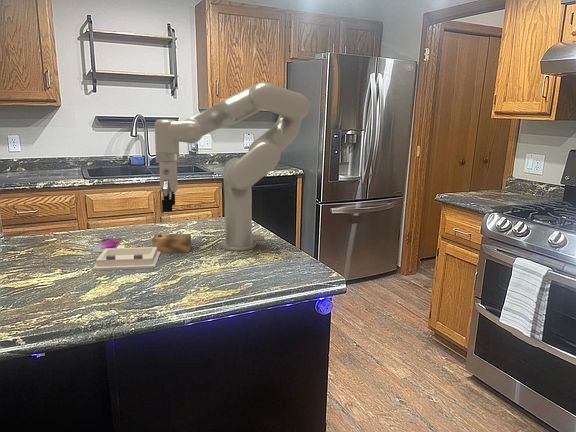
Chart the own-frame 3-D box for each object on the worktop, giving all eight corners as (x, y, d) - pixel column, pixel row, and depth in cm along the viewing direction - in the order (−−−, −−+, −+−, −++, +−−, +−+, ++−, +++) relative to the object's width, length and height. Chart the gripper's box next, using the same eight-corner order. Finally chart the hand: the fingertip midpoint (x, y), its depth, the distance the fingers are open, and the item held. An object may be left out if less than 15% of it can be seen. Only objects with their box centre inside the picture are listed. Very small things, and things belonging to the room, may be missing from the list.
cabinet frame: (160, 253, 145) (160, 242, 144) (154, 268, 131) (154, 256, 130) (104, 255, 142) (103, 244, 141) (92, 270, 129) (91, 258, 128)
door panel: (191, 247, 153) (190, 232, 151) (188, 252, 147) (188, 237, 146) (156, 247, 152) (155, 232, 150) (153, 253, 146) (152, 237, 144)
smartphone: (89, 252, 143) (102, 239, 158) (90, 254, 144) (102, 241, 158) (112, 251, 144) (122, 238, 159) (112, 253, 145) (122, 240, 159)
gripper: (176, 160, 134) (178, 214, 138) (181, 155, 150) (182, 202, 154) (151, 160, 133) (153, 214, 137) (159, 154, 149) (160, 202, 153)
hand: (168, 208), depth 145 cm, fingers open, 9 cm apart
